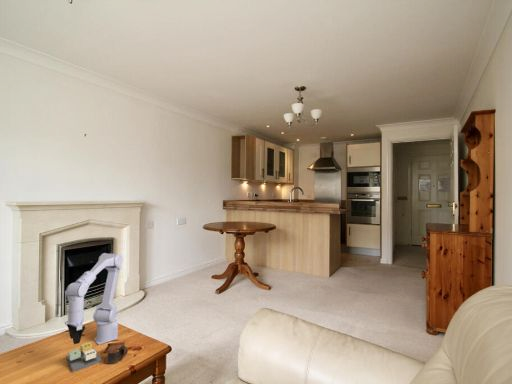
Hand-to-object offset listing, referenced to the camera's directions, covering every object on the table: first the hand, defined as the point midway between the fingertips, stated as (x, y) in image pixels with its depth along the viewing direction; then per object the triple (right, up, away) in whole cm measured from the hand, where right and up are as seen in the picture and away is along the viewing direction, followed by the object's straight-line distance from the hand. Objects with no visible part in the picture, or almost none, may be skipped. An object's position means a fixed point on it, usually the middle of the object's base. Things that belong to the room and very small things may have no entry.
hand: (75, 340), depth 124 cm
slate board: (+3, -10, +2) cm, 11 cm away
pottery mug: (+17, -11, +4) cm, 20 cm away
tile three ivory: (+7, -8, 0) cm, 10 cm away
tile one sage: (0, -7, 0) cm, 7 cm away
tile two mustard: (+1, -7, +6) cm, 10 cm away
